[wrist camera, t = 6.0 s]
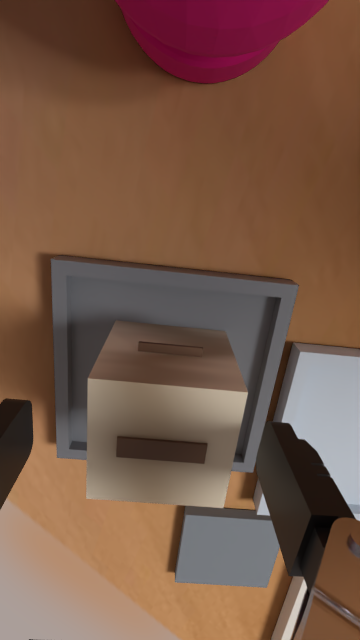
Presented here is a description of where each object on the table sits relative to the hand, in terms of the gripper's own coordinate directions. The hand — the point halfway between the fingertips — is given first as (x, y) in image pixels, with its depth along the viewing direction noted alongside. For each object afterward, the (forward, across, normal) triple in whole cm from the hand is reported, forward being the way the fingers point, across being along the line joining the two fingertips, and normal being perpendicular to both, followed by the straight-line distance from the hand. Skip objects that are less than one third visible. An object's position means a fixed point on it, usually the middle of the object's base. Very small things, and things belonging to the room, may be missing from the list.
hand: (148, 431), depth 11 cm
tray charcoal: (+5, -1, 0) cm, 5 cm away
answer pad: (+5, -6, +12) cm, 14 cm away
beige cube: (+5, -1, 0) cm, 5 cm away
